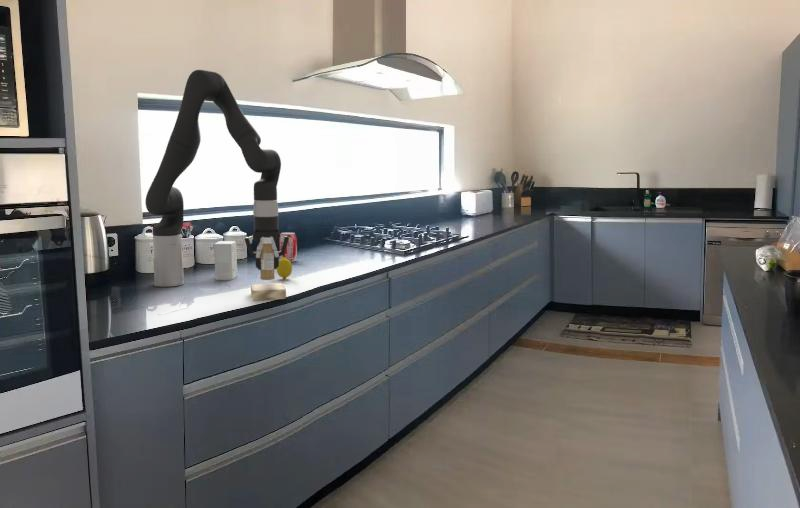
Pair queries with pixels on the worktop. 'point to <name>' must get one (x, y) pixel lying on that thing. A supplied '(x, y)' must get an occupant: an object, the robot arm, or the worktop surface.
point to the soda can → (290, 247)
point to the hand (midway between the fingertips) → (267, 268)
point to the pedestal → (268, 291)
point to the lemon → (284, 268)
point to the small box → (225, 260)
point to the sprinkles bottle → (267, 260)
